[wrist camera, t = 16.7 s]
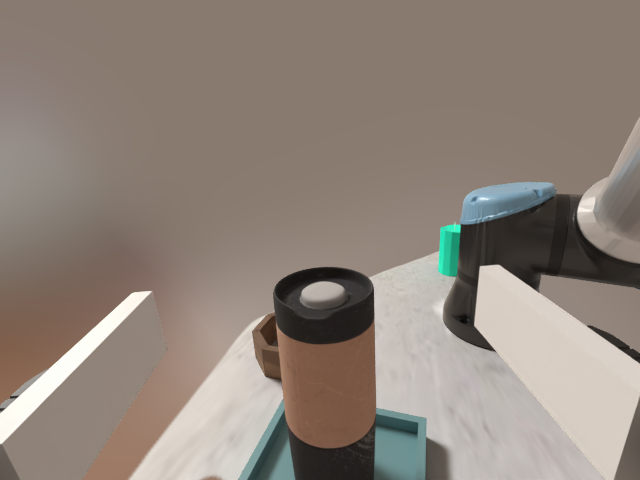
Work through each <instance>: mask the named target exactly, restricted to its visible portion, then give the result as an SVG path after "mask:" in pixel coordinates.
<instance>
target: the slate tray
mask: <svg viewBox="0 0 640 480" xmlns="http://www.w3.org/2000/svg"><path fill="white" fill-rule="evenodd" d="M425 467H426V418H423V417H418V416H413V415H408V414H403V413H398V412H394V411H389V410H384V409H379V408H376V432H375V462H374V480H425ZM238 480H295V476H294V469H293V463H292V456H291V450H290V443H289V437H288V430H287V424H286V416H285V407H284V398H283V400H282V402H281V404H280V405H279V407H278V409H277V411H276V413H275V414H274V416H273V418H272V420H271V422H270V423H269V425H268V427H267V429H266V431H265V432H264V434H263V436H262V438H261V439H260V441H259V443H258V445H257V447H256V448H255V450H254V452H253V454H252V456H251V457H250V459H249V461H248V463H247V465H246V466H245V468H244V470H243V472H242V474H241V475H240V477H239V479H238Z"/></svg>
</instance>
